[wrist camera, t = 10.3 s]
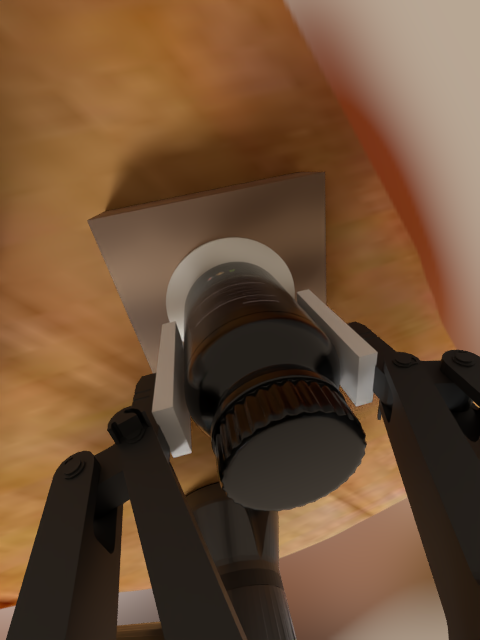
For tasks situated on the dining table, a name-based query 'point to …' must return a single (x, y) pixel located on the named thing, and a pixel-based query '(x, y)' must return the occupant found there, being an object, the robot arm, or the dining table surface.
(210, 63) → the dining table surface
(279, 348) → the supplement bottle
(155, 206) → the walnut plinth
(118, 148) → the dining table surface
